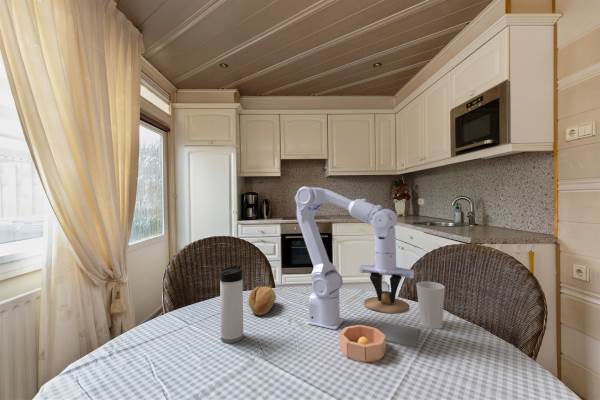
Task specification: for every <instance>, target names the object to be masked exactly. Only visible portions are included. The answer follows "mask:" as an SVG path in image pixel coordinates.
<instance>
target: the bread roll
mask: <svg viewBox="0 0 600 400" xmlns="http://www.w3.org/2000/svg"><path fill="white" fill-rule="evenodd" d="M276 298H277V296H276V292H275V290H274V289H273V288H272V287H269V286H262V285H261V286H256V287H254V288H253V289H252V290H251V292H250V293H249V297H248V305H249V308H250V310H251V312H253V313H254V314H255V315H258V316H263V315H266V314H267V313H268V312H269V311H270V310H271V308H272V307H273V305H274V303H275V302H276Z"/></svg>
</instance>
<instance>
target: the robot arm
mask: <svg viewBox="0 0 600 400" xmlns="http://www.w3.org/2000/svg"><path fill="white" fill-rule="evenodd" d="M294 200H295V203H296V219H297V222H298V226H299V228H300V231H301V233H302V237H303V240H304V243H305V245H306V249H307V252H308V254H309V258H310V260H311V263H312V266H313V269H312V271H311V274H310V276H311V280H312V281H311V283H312V284H311V287H312V291H313V292H312V293H311V294H310V295H309V300H308V321H307V324H308V325H312V326H317V327H322V328H325V329H326V328H327V329H330V330H337V329H338V328H339V327H340V326H341V324H342V323H343V322H344V321H345V318H344V317H340V315H341V314H340V313H341V312H340V311H341V309H340V308H341V306H340V289H341V288H342V287H343V282H344V281H343V276H342V275H341V273H339V272H338V270H337V268H336V266H335V265H334V264H333V263H332V262H331V261H330V259H329V256H328V253H327V250H326V248H325V245H324V243H323V240H322V237H321V236H322V235H321V234H320V231H319V229H318V225H317V223H316V219H315V215H316V213H317V212H318V211H319V209H320V208H321V207H322V206H324V204H330V205H333V206H336V207H339V208H341V209H343V210H346V211H348V213H349V215H350V217H352V218H355V219H356V220H358V221H359V220H360V221H361V222H364V223H366V224H368V225H370V226H372V229H373V232H374V233H373V234H374V236H373V237H374V239H373V240H374V265H372V264H371V265H369V264H367V265H365V264H360V265H359V267H358V269H359V273H360V274H370V276H369V279H370V281H371V283H372V286H373V287H374V290H375V293H376V297H378V301H381V292H382V291H383V285H382V284H383V275H384V276H391V277H390V278H389V284H390V292H391V303H394V302H395V299H396V295H397V291H398V288H399V285H400V282H401V281H402V278H409V279H414V278H415V270H414V269H411V268H409V269H408V268H404V267H403V268H402V267H398V266H397V243H396V238H397V236H396V225H397V223H398V216H397V214H396V212H394V211H393V210H392V209H390V208H384V209H382V207H383V206H382V205H381V204H377V205H375V204H373V203H370V202H368V199H366V198H361V199H360V198H357V199H355V200H352V199H349V198H348V197H345V196H343V195H341V194H339V193H336V192H334V191H332V190H330V189H325V188H323V187H311V186H310V187H309V186H301V187H300V188H299V189H298V190H297V192H296V194H295V196H294Z"/></svg>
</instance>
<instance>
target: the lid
mask: <svg viewBox="0 0 600 400" xmlns="http://www.w3.org/2000/svg"><path fill="white" fill-rule="evenodd" d="M363 303H364V304H363V305H364V307H365V308H366V309H368V310H370V311H372V312H376V313H381V314H387V315H388V314H389V315H400V314H405V313H408V312H409V311H410V304H409V303H408V302H406V301H404V300H402V299H399V298H395V302H394V303H391V291H389V290H388V291H387V290H382V292H381V301H378V297H377V296H375V297H369V298H366V299H365V300H364V301H363Z"/></svg>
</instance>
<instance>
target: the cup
mask: <svg viewBox="0 0 600 400" xmlns="http://www.w3.org/2000/svg"><path fill="white" fill-rule="evenodd" d="M415 285H416V292H417V302H418V312H419V323H420V325H422V326H423V327H425V328H428V329H434V330H436V329H438V330H439V329H441V328H443V327H444V325H443V324H444V322H443V319H444V318H443V317H444V303H445V302H444V301H445V291H446V290H445V288H446V286H445V285H443V284H441V283H439V282H434V281H418V282H417V283H416V284H415Z"/></svg>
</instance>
